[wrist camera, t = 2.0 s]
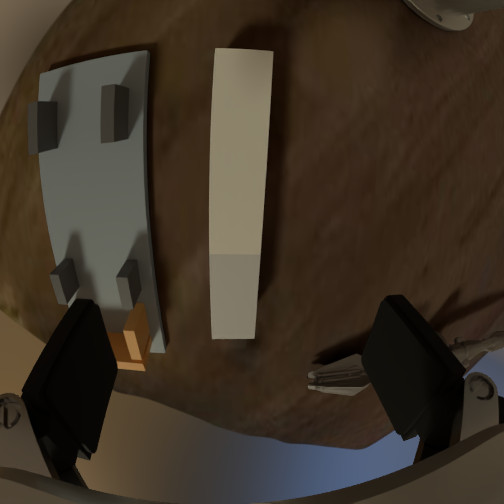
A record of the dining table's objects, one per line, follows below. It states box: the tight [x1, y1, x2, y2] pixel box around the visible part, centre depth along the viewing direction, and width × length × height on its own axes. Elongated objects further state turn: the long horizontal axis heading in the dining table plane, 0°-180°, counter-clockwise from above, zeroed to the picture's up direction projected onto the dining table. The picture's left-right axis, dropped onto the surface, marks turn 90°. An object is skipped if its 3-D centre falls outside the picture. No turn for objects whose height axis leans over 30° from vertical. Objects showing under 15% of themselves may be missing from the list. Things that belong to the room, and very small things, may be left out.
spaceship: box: [307, 331, 504, 396], centre depth 29 cm, size 8×35×8 cm
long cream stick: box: [209, 48, 273, 339], centre depth 21 cm, size 22×4×4 cm, turn 177°
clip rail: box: [28, 50, 167, 371], centre depth 20 cm, size 28×10×5 cm, turn 177°
